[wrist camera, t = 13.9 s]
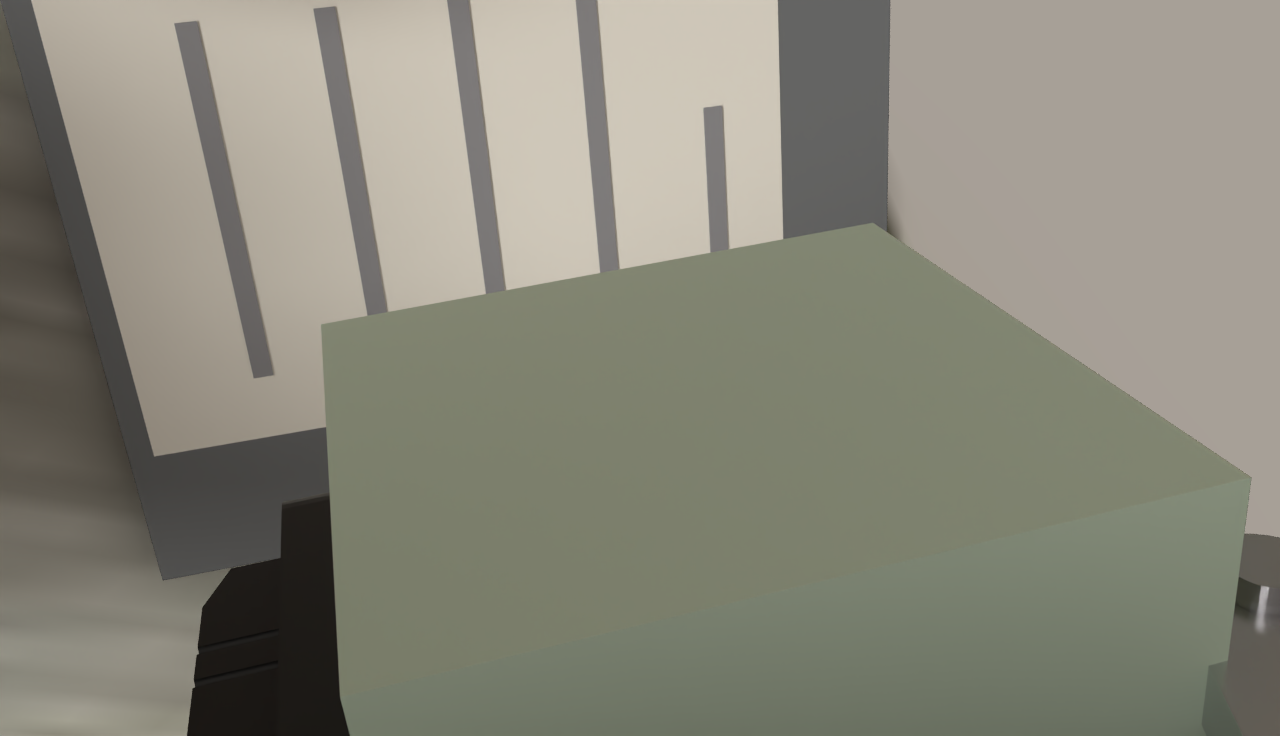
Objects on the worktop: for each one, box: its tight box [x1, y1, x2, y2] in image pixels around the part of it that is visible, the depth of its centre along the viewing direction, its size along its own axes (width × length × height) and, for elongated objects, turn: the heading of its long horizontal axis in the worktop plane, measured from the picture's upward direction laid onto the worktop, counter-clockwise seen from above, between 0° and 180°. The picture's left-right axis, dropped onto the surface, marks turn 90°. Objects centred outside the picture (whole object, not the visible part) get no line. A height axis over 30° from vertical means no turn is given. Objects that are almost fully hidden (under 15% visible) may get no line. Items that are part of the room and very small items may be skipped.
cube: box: [321, 223, 1251, 736], centre depth 10 cm, size 5×5×5 cm
